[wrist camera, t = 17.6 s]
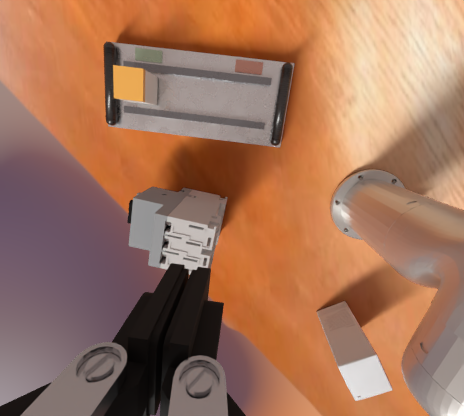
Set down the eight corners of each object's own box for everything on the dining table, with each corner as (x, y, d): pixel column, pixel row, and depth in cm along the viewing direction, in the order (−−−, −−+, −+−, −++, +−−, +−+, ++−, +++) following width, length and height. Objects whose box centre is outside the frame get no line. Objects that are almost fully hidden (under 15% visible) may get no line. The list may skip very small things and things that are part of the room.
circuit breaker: (150, 180, 46) (106, 202, 31) (227, 197, 46) (218, 227, 31) (146, 218, 48) (103, 255, 33) (219, 234, 48) (207, 278, 34)
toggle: (157, 77, 38) (143, 68, 33) (157, 105, 39) (142, 101, 34) (131, 74, 38) (113, 65, 33) (131, 102, 39) (113, 98, 34)
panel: (291, 67, 39) (296, 60, 35) (278, 146, 42) (281, 148, 38) (114, 46, 39) (99, 37, 36) (116, 126, 43) (102, 126, 39)
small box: (359, 329, 52) (394, 391, 40) (330, 339, 53) (355, 402, 41) (345, 299, 50) (377, 354, 38) (315, 310, 51) (337, 367, 39)
